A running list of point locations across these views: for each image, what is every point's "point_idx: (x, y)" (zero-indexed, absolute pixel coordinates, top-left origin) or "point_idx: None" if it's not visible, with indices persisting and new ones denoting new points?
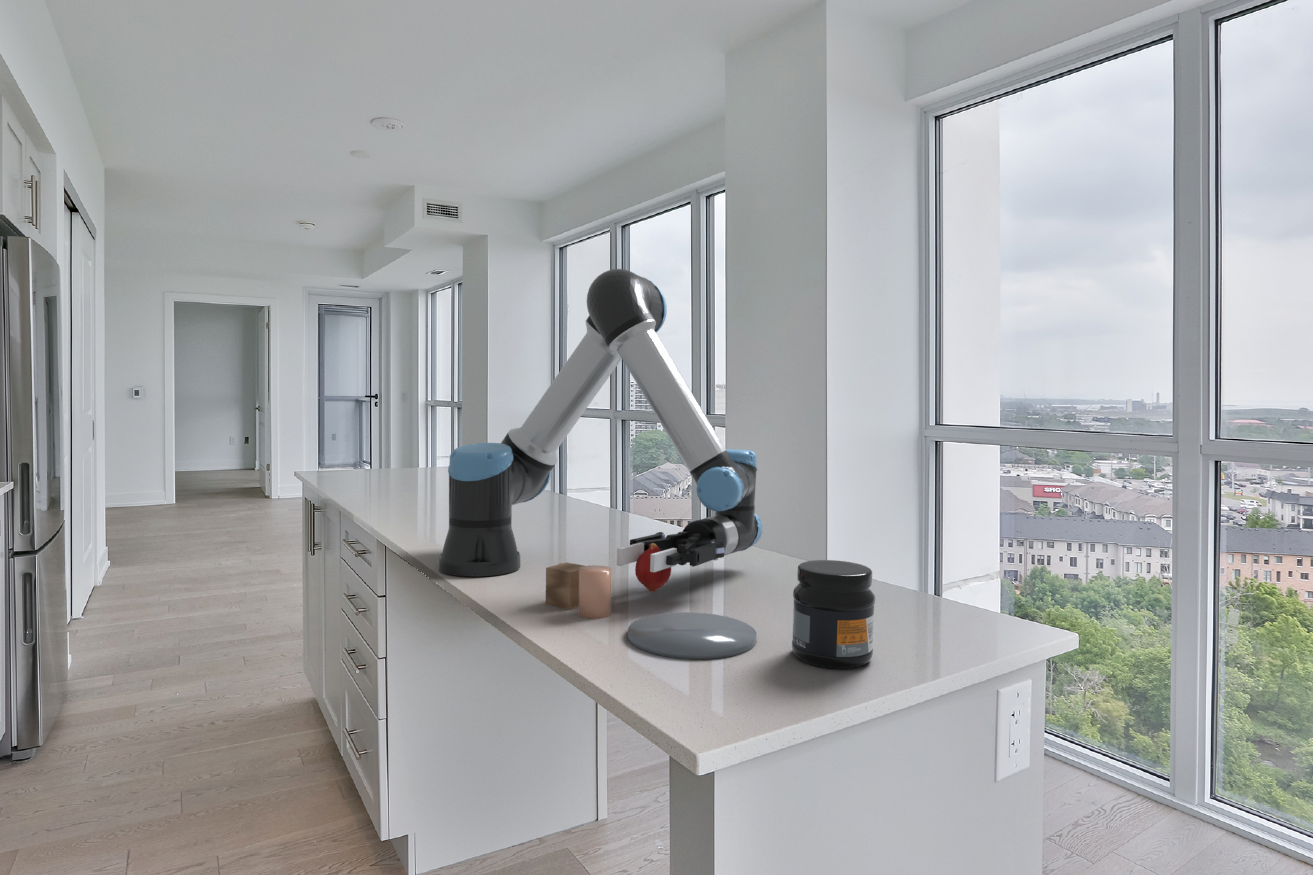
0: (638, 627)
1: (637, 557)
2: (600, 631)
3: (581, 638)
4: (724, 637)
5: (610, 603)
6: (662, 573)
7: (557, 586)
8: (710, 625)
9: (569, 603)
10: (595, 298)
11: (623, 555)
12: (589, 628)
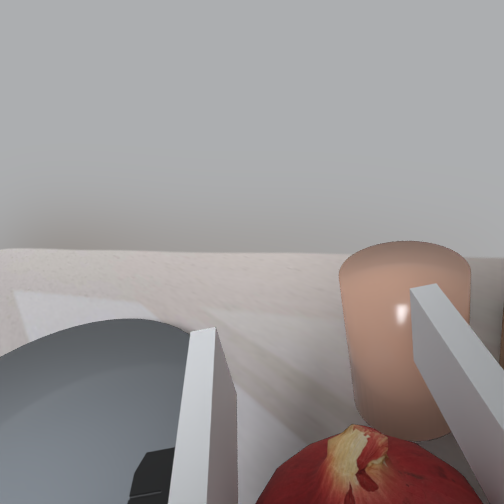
0: (181, 359)
1: (492, 489)
2: (271, 334)
3: (269, 297)
4: None
5: (361, 391)
6: None
7: None
8: None
9: (500, 355)
10: None
11: (419, 335)
12: (306, 329)
